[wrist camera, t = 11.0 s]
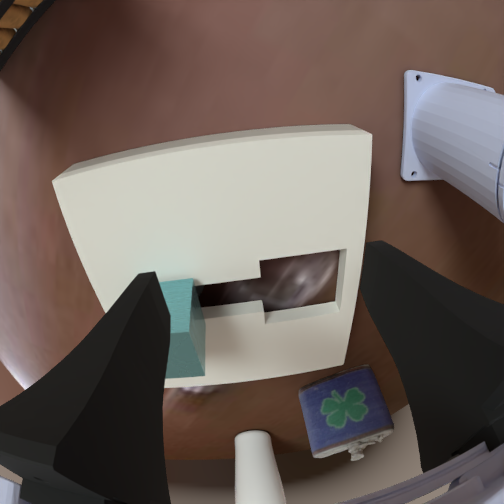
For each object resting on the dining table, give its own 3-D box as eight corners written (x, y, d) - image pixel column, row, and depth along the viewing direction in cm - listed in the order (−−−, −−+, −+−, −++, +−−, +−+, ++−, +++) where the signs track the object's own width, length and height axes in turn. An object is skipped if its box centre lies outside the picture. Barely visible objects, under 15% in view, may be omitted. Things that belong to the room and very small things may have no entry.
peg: (198, 243, 21) (192, 328, 15) (209, 291, 24) (209, 377, 17) (139, 252, 21) (112, 335, 14) (155, 298, 24) (140, 381, 17)
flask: (300, 396, 34) (318, 474, 25) (294, 386, 33) (313, 469, 24) (371, 371, 33) (400, 445, 24) (370, 359, 32) (402, 438, 23)
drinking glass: (230, 427, 37) (239, 525, 25) (278, 425, 38) (294, 519, 26) (228, 443, 41) (236, 528, 28) (271, 441, 42) (284, 524, 29)
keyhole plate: (349, 123, 18) (372, 134, 15) (334, 339, 28) (343, 364, 26) (73, 164, 17) (51, 181, 14) (152, 361, 28) (149, 388, 25)
